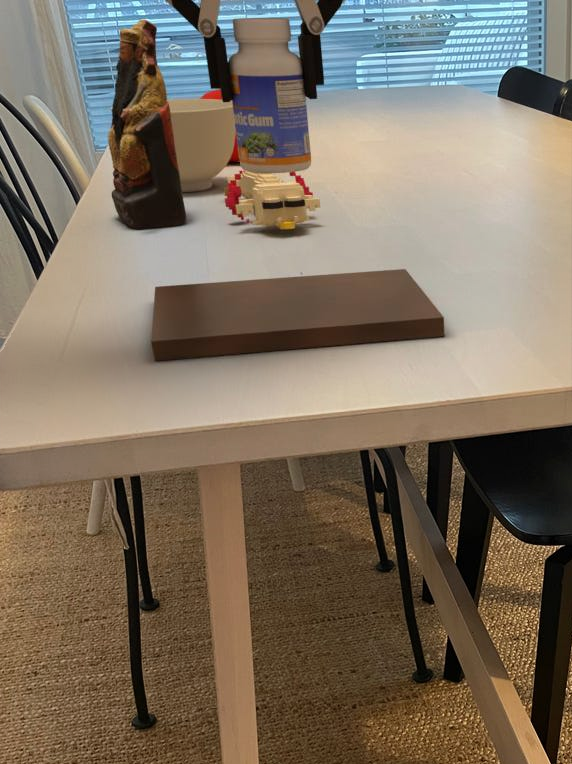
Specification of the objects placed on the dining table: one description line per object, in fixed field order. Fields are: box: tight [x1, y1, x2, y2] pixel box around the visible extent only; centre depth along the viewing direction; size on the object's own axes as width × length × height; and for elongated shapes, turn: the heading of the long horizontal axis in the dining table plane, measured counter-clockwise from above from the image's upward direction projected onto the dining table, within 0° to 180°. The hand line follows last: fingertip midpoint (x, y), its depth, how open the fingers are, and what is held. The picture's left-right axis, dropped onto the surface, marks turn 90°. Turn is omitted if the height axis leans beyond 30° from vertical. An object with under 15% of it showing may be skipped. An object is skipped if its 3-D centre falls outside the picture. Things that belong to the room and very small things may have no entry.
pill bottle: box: [228, 17, 312, 174], centre depth 72 cm, size 5×5×10 cm
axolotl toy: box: [223, 144, 321, 230], centre depth 115 cm, size 10×9×25 cm
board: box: [150, 268, 445, 362], centre depth 81 cm, size 22×16×2 cm
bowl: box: [110, 98, 236, 193], centre depth 131 cm, size 16×16×10 cm
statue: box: [107, 19, 187, 230], centre depth 110 cm, size 12×8×20 cm, turn 22°
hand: (268, 96), depth 72 cm, fingers closed on pill bottle, 5 cm apart
